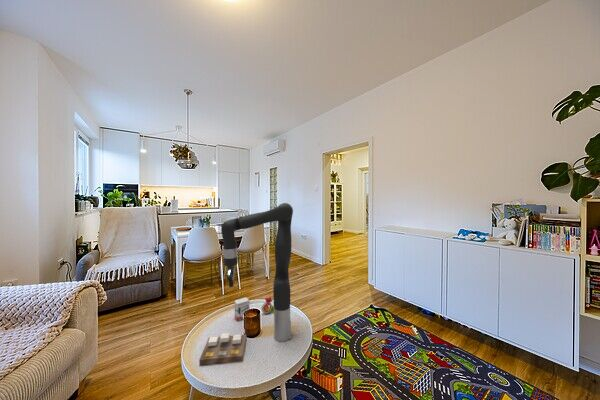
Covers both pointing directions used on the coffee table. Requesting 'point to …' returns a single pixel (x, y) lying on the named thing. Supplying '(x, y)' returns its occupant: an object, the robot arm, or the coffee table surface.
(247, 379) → the coffee table surface
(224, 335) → the middle key
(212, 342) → the key
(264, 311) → the bird rattle
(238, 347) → the switch board
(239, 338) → the key
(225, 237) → the robot arm
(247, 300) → the ink box
